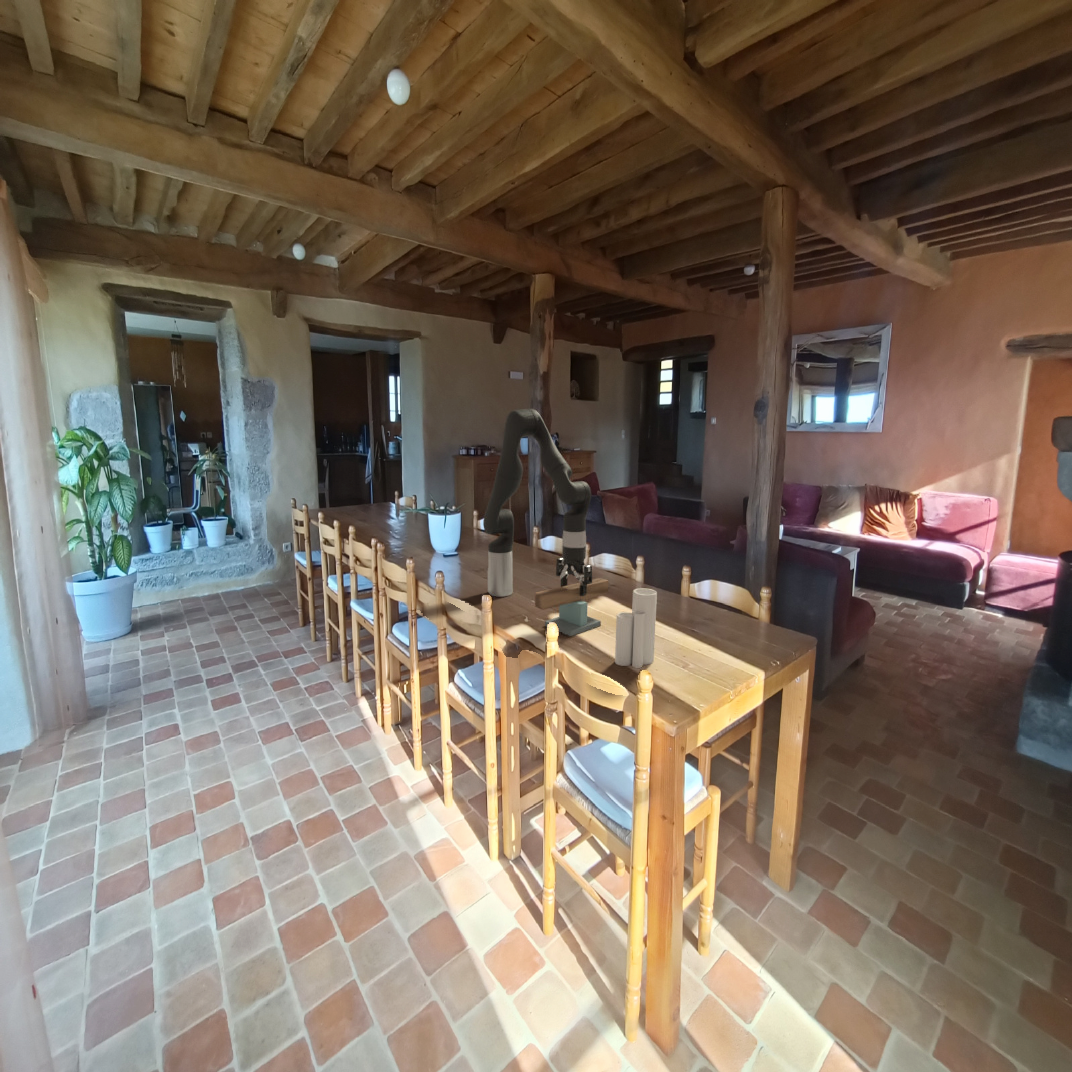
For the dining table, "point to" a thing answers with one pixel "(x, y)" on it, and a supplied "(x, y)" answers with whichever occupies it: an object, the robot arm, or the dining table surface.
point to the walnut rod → (569, 594)
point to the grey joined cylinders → (637, 630)
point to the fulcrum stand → (574, 618)
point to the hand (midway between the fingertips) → (573, 592)
